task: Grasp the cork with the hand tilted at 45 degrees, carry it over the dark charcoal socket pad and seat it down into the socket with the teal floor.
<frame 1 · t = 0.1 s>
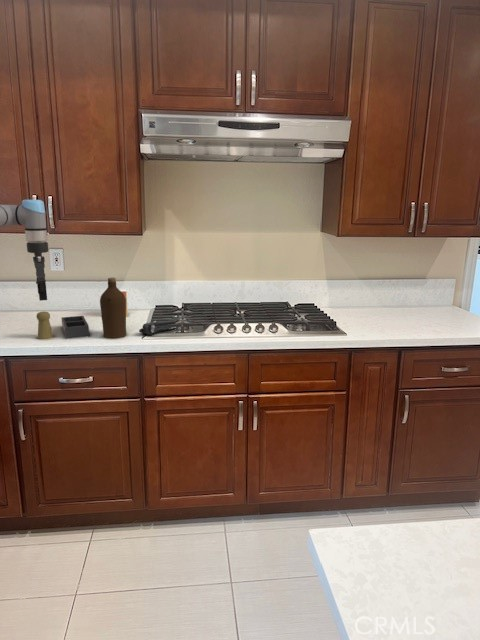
hand: (42, 296, 182), 20 cm above the table, tool pointing down, fingers open, 13 cm apart
olive oil: (115, 336, 200), on the table
small box: (119, 316, 232), on the table
cork: (45, 337, 196), on the table
socket pad: (75, 331, 204), on the table
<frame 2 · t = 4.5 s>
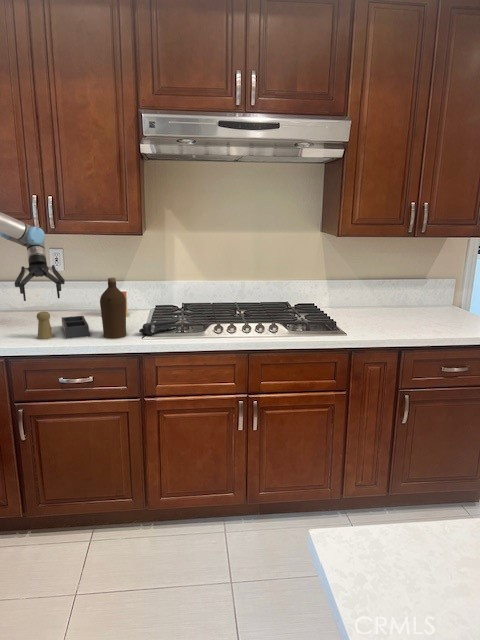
hand: (41, 298, 201), 15 cm above the table, tool tilted 45°, fingers open, 13 cm apart
nothing on the table moved.
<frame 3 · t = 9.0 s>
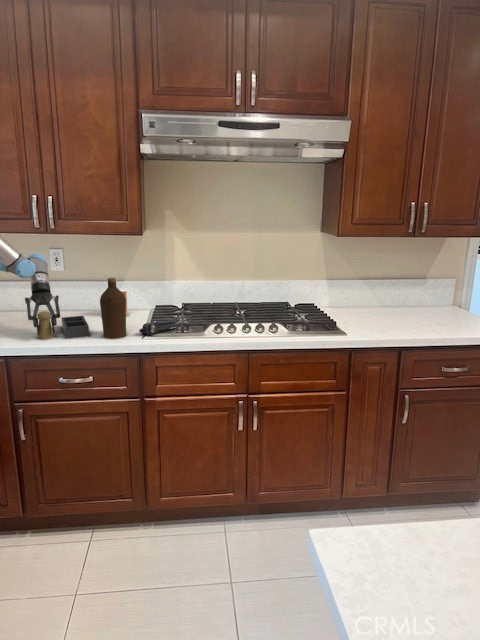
hand: (46, 332, 192), 3 cm above the table, tool tilted 45°, fingers closed on cork, 5 cm apart
cork: (45, 337, 196), on the table, touching gripper
everything else where it was.
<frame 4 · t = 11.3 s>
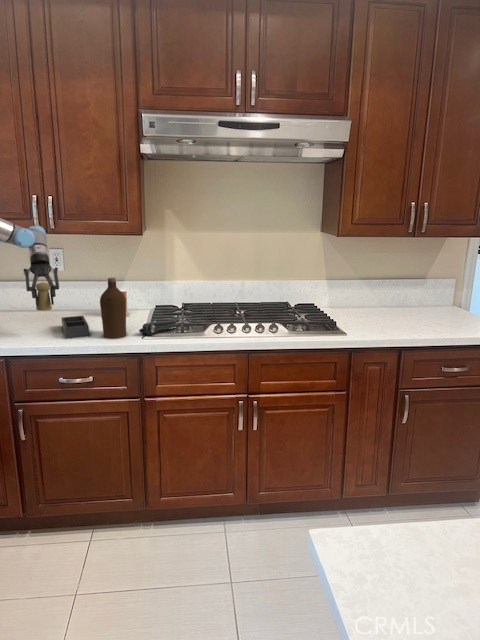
hand: (44, 303, 189), 15 cm above the table, tool tilted 45°, fingers closed on cork, 5 cm apart
cork: (44, 309, 193), point 12 cm above the table, touching gripper
everything else where it was.
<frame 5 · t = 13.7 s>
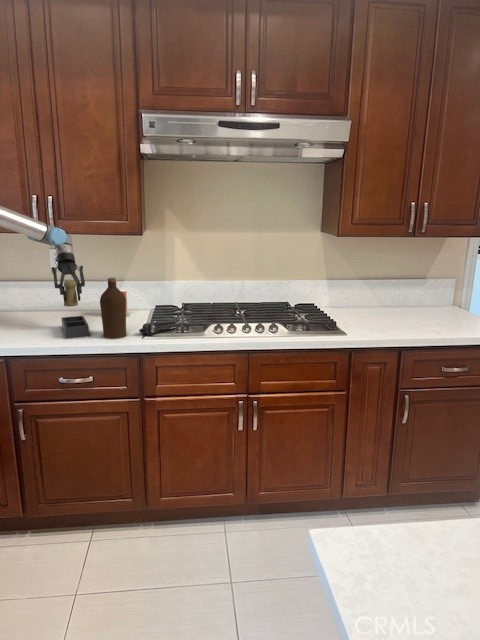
hand: (72, 299, 201), 14 cm above the table, tool tilted 45°, fingers closed on cork, 5 cm apart
cork: (71, 305, 205), point 11 cm above the table, touching gripper
everything else where it was.
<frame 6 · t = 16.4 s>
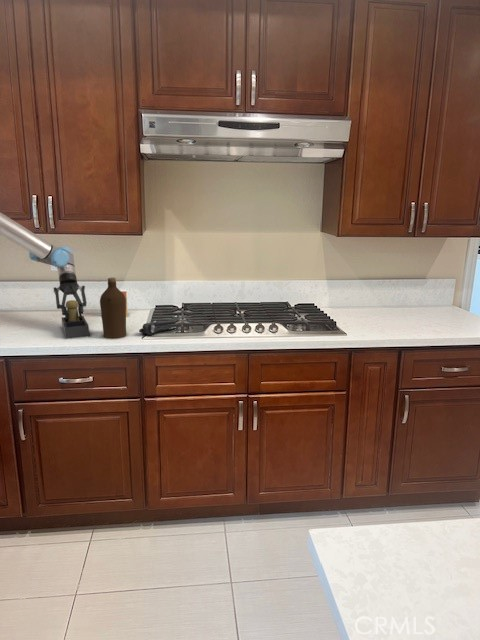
hand: (74, 320, 203), 5 cm above the table, tool tilted 45°, fingers closed on cork, 5 cm apart
cork: (72, 325, 207), point 2 cm above the table, touching gripper
everything else where it was.
when the fingers open (6 cm above the table, at t = 20.1 s): cork stays where it is, resting on socket pad.
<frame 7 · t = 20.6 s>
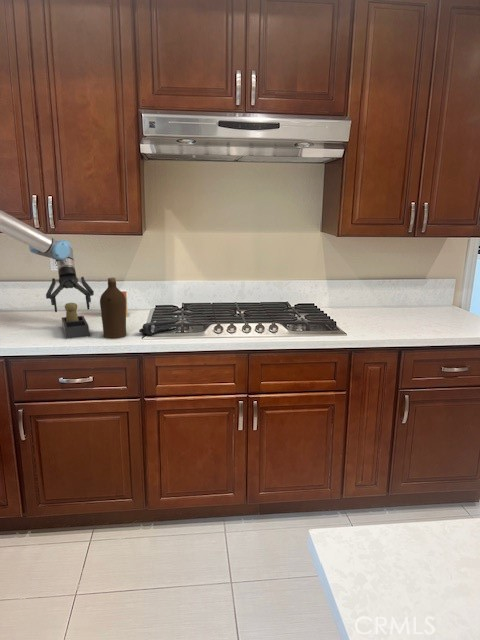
hand: (72, 309, 205), 9 cm above the table, tool tilted 45°, fingers open, 13 cm apart
cork: (72, 327, 208), point 1 cm above the table, touching socket pad
everything else where it was.
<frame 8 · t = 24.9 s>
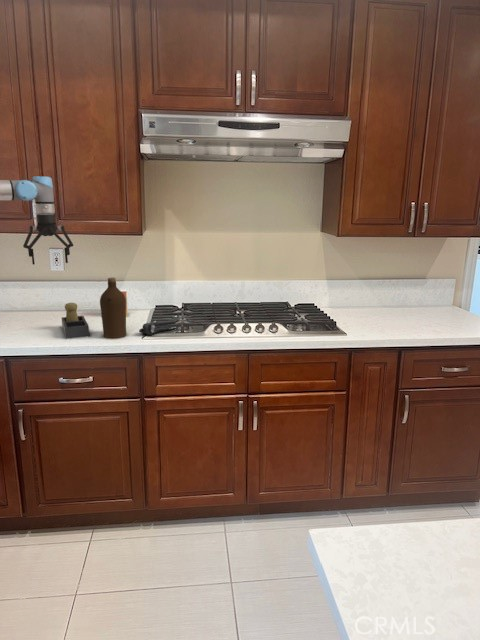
hand: (50, 263, 205), 29 cm above the table, tool pointing down, fingers open, 13 cm apart
nothing on the table moved.
at the end: cork 0.7 cm from the target spot in the socket pad, point 0.8 cm above the socket pad's base; cork tilted 0°; the gripper is holding nothing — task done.
